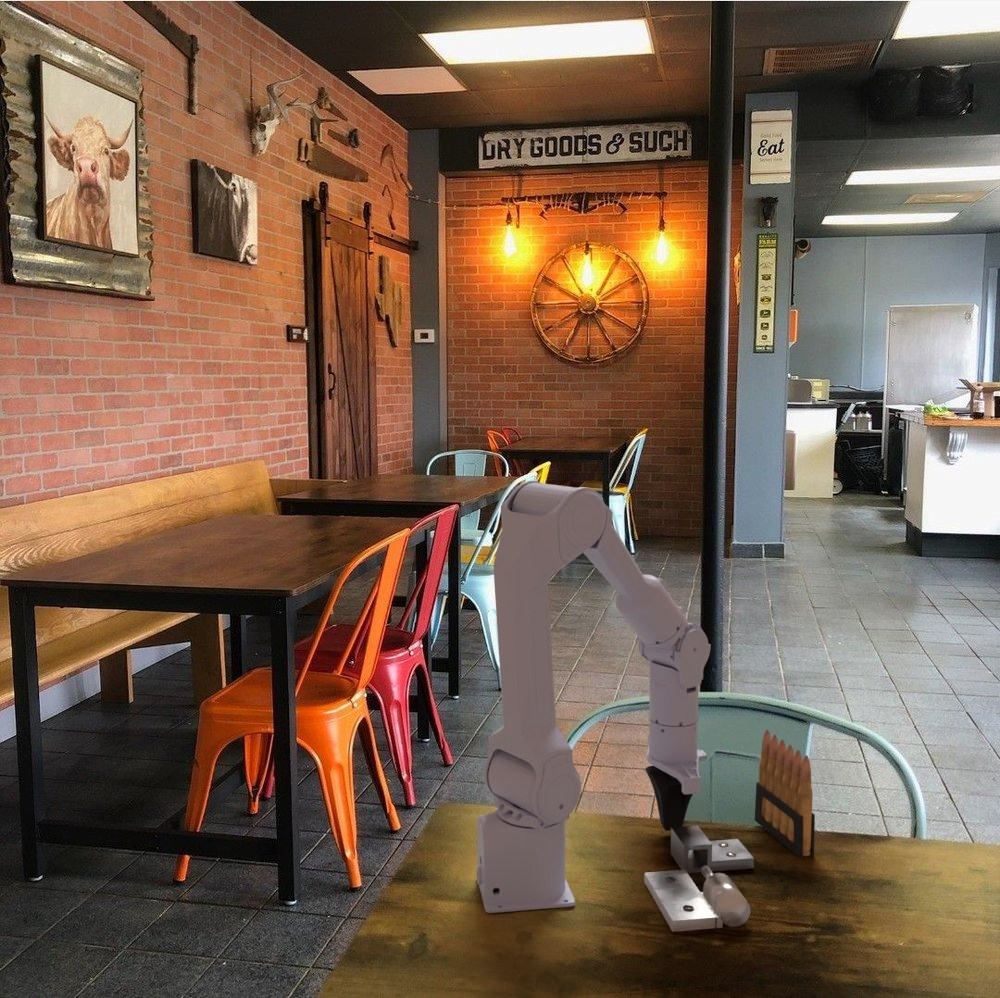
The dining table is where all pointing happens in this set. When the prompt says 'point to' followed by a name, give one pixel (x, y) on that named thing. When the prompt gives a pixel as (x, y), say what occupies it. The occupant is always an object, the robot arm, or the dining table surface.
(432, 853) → the dining table surface
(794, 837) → the ammunition clip
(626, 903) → the dining table surface
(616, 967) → the dining table surface
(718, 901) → the fixed leaf
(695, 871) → the loose leaf
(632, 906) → the dining table surface
